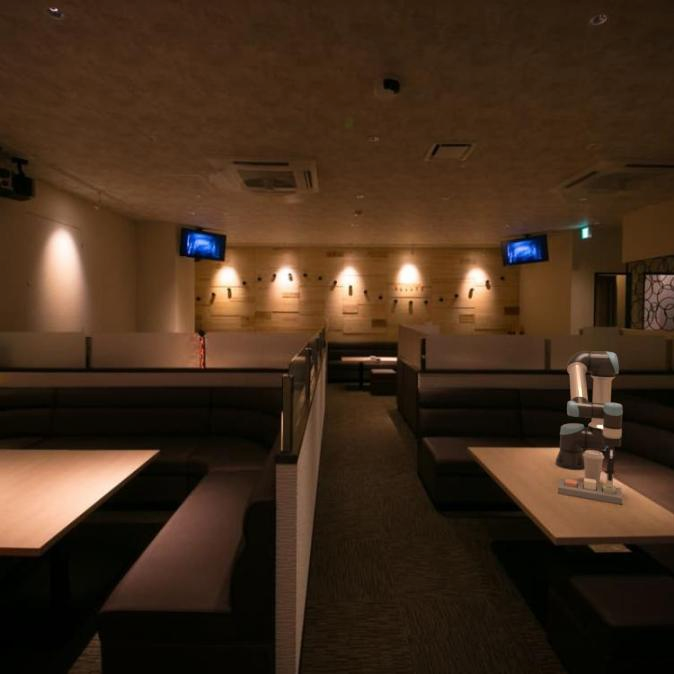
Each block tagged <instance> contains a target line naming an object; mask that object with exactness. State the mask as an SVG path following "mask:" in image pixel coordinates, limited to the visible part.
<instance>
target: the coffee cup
mask: <svg viewBox="0 0 674 674" xmlns="http://www.w3.org/2000/svg"><path fill="white" fill-rule="evenodd" d="M583 456H584V467H585V469H584V478H588V479H595V480H596V484H598V485H599V484H600V483H601V475H602V474H601V473H602V467H603V463H604V462H603V461H604V459H605V456H604V454H603V453H602V451H600V450H592V449H585V451H583Z"/></svg>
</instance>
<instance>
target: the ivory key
mask: <svg viewBox="0 0 674 674" xmlns="http://www.w3.org/2000/svg"><path fill="white" fill-rule="evenodd" d="M583 482H584V489H590V490H596V480H595V479H588V478H585V477H584V479H583Z"/></svg>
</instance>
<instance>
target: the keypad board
mask: <svg viewBox="0 0 674 674" xmlns="http://www.w3.org/2000/svg"><path fill="white" fill-rule="evenodd" d="M566 479H567V478H560V480H559V484H558V494H559V495H563V496H569V497H573V498H580V499H586V500H590V501H591V500H592V501H598V502H603V503H607V504H608V503H610V504H614V505H620V506H622V505H623V495H622V493H623V492H622V488H620V487H616V486H615V488H616V494H611V493H605V492H603V484H599V483H598V484H596V490H590V489H584V481H579V480H576V481H577V488H576V487H570V486H565V480H566Z"/></svg>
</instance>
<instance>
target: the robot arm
mask: <svg viewBox="0 0 674 674" xmlns="http://www.w3.org/2000/svg"><path fill="white" fill-rule="evenodd" d="M566 365H567V366H566V369H567V370H566V371H567V373H568V374H569V385H570V386H569V387H570V400H569V401H567V405H566V406H567V407H566V411H567V412H566V414H567V415H568V417H575V418H587V419H591V422H589V423H588V425H587V426H588V427H586V426H584V424H583V423H575V422H574V423H566V424H563V425H561V426H560V432H559V436H560V437H559V438H560V440H559V451H558V454H557V456H556V458H555V465H556V466H558V467H560V468H563V469H567V470H575V471H579V470H580V471H581V470H585V467H584V456H583V454H584V451H583V450H584V449H585V450H594V451H600V452H603V451H604V452H605V453H606V459H607V461H606V470H605V471H604V473H605V474H606V476H605V477H606V480H605V481H606V483H605V485H606V487H611V488H613V486H614V474H615V473H616V471H615V460H616V455H617V449H616V448H617V447H621V446H622V435H623V434H622V433H623V431H622V428H623V427H622V426H623V425H622V423H623V413H624V411H623V405H622V404H621V403H617V402H612V401H611V400H612V399H611V397H612V381H613V380H614V379H615V378H616V375H618V374H619V372H620V371H619V369H620V367H619V360H618V356H617V354H616V353H615V352H612V351H606V350H605V351H602V350H601V351H600V350H599V351H595V350H594V351H593V350H583V351H579V352H576V353H574V354H573V355H572V356H571V357H570V359H569V360H568V361H567V364H566ZM587 373H590V377H591V378H592V379H593V384H592V386H593V387H592V402H590V401H589V400H588V399H589V397H588V387H587V377H586V374H587Z"/></svg>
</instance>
